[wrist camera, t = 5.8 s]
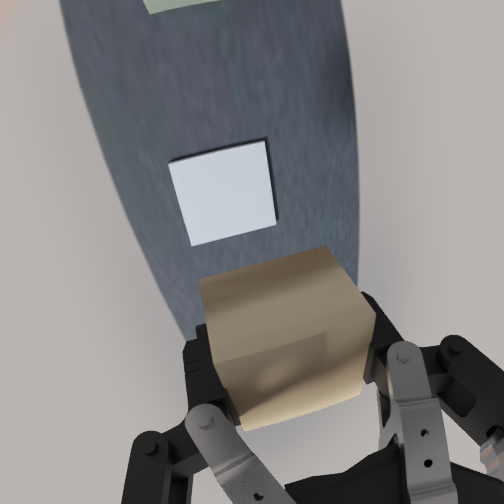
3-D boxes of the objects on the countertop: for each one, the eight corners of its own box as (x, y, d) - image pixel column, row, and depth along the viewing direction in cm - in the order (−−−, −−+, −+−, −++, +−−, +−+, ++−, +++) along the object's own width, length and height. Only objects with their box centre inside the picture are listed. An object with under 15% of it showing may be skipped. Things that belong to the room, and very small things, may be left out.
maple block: (199, 279, 12) (213, 363, 9) (325, 245, 12) (376, 314, 9) (226, 358, 15) (244, 431, 11) (325, 330, 15) (360, 394, 12)
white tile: (168, 162, 22) (168, 164, 21) (263, 140, 22) (264, 141, 22) (191, 243, 26) (192, 246, 25) (274, 222, 26) (276, 224, 26)
